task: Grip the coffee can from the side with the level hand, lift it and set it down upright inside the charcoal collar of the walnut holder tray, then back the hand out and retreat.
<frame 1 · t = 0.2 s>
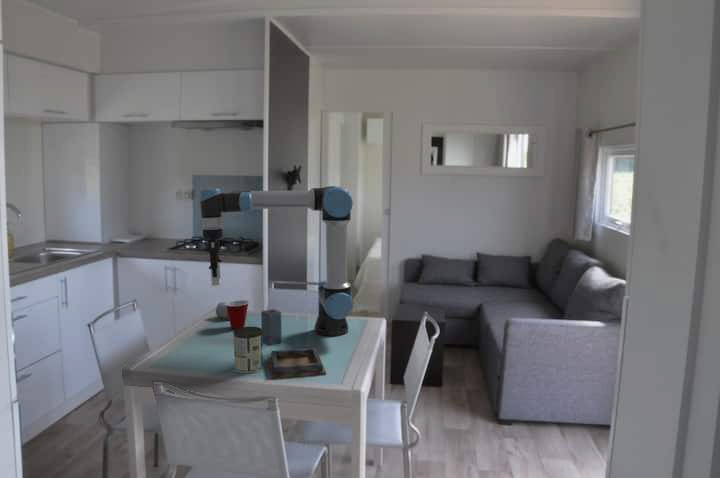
hand: (216, 282, 207), 27 cm above the table, tool pointing down, fingers open, 13 cm apart
holder tray: (296, 366, 193), on the table
ceramic mug: (229, 318, 254), on the table
plastic cup: (237, 328, 238), on the table
coffee can: (248, 368, 191), on the table
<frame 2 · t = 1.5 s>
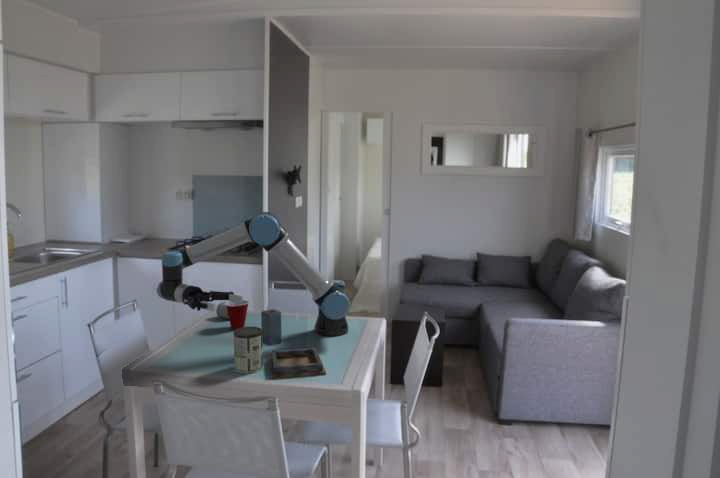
hand: (228, 303, 193), 23 cm above the table, tool horizontal, fingers open, 13 cm apart
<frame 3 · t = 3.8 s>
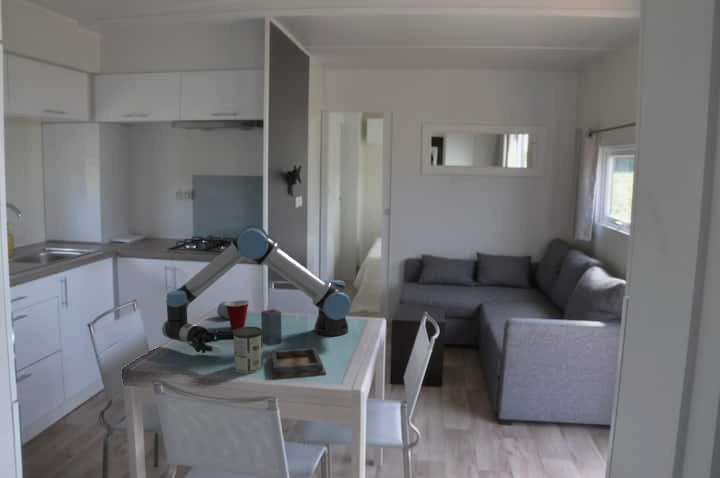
hand: (233, 345, 193), 7 cm above the table, tool horizontal, fingers open, 13 cm apart
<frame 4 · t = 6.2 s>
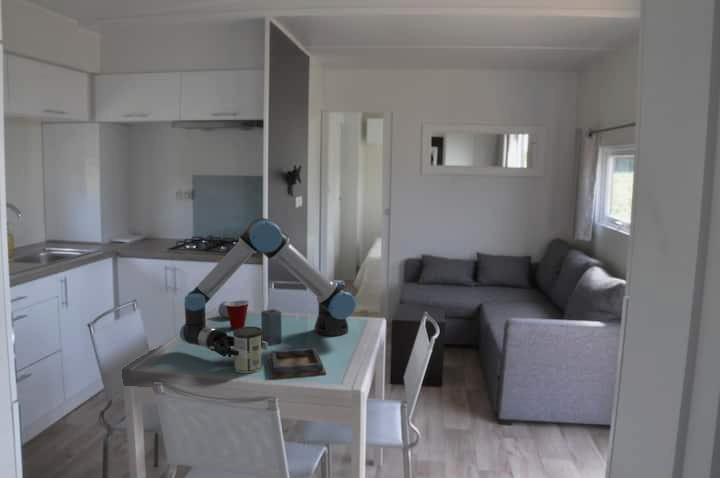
hand: (257, 350, 188), 8 cm above the table, tool horizontal, fingers closed on coffee can, 10 cm apart
coffee can: (248, 368, 191), on the table, touching gripper
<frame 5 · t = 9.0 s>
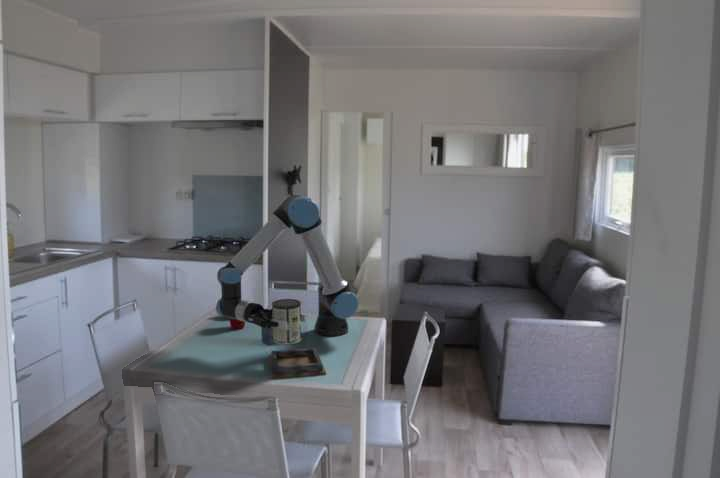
hand: (296, 321, 188), 18 cm above the table, tool horizontal, fingers closed on coffee can, 10 cm apart
coffee can: (286, 340, 191), point 10 cm above the table, touching gripper
when the fingers open (10 cm above the table, at t = 11.8 s): coffee can drops 1 cm, resting on holder tray.
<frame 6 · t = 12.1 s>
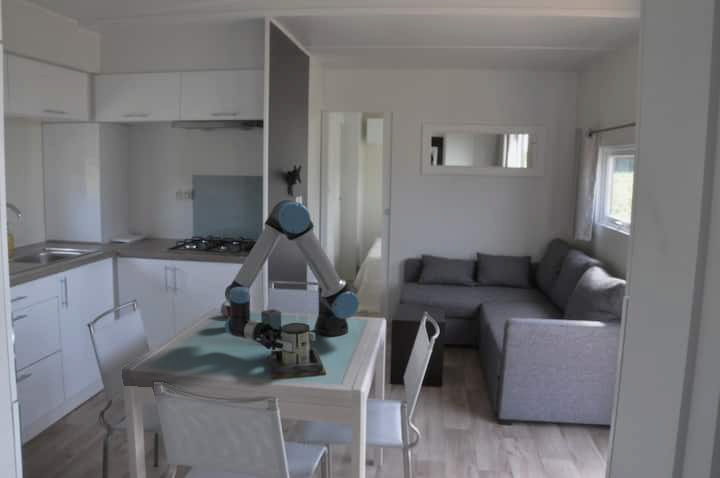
hand: (303, 341, 190), 10 cm above the table, tool horizontal, fingers open, 13 cm apart
coffee can: (295, 364, 193), point 1 cm above the table, touching holder tray
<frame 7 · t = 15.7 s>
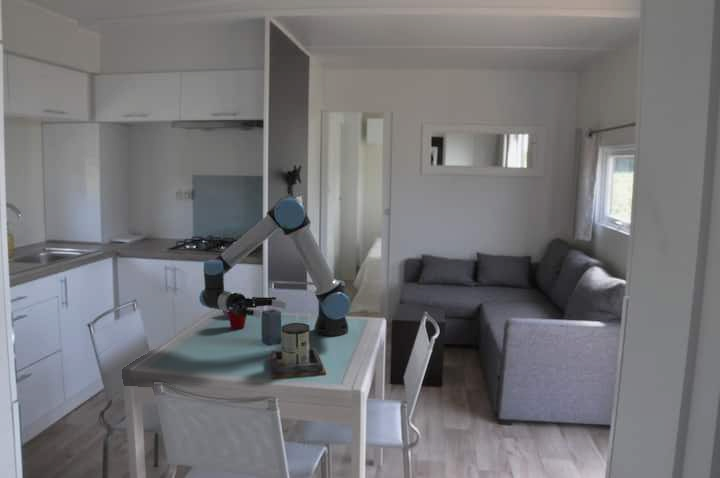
hand: (273, 309, 195), 20 cm above the table, tool horizontal, fingers open, 13 cm apart
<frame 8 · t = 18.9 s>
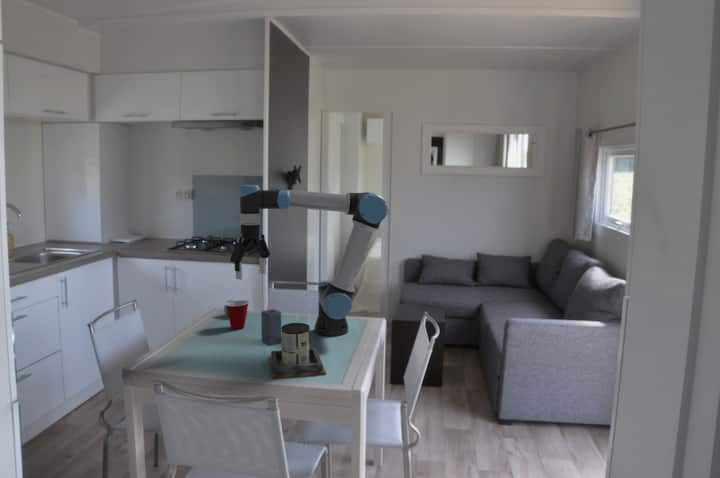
hand: (251, 276, 212), 29 cm above the table, tool pointing down, fingers open, 13 cm apart
at the end: coffee can 0.1 cm off-centre on the holder tray, point 0.8 cm above the holder tray's base; coffee can tilted 0°; the gripper is holding nothing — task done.
